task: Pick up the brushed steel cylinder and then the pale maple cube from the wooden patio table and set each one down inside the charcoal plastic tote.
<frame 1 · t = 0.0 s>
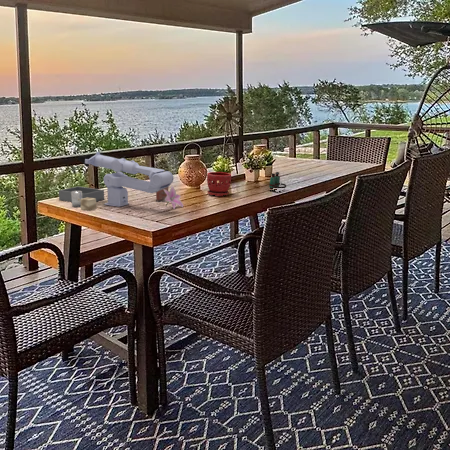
hand: (84, 157, 257), 22 cm above the table, tool horizontal, fingers open, 7 cm apart
maple cube: (88, 209, 243), on the table
lily: (172, 207, 250), on the table
plant pot: (218, 195, 282), on the table
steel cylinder: (77, 205, 249), on the table
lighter: (162, 201, 265), on the table
tote: (81, 199, 263), on the table
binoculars: (277, 191, 295), on the table
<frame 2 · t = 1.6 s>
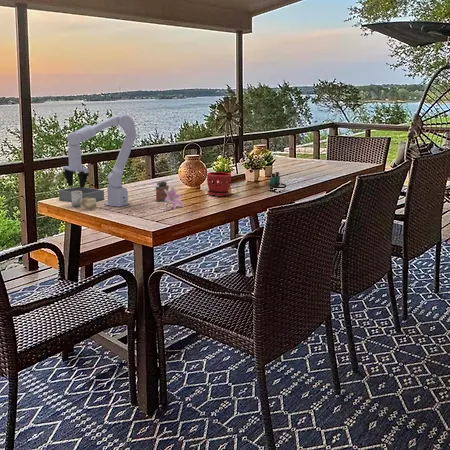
hand: (76, 186, 247), 9 cm above the table, tool pointing down, fingers open, 7 cm apart
nothing on the table moved.
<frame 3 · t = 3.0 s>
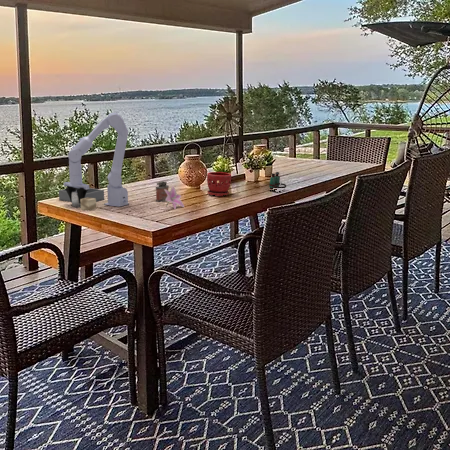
hand: (77, 202, 249), 2 cm above the table, tool pointing down, fingers closed on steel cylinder, 5 cm apart
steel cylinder: (77, 205, 249), on the table, touching gripper
everything else where it was.
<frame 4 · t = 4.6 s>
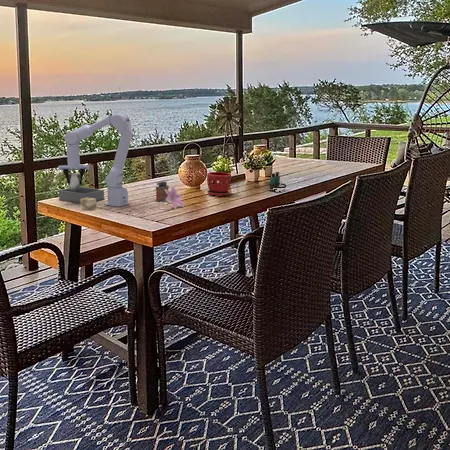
hand: (74, 184, 253), 9 cm above the table, tool pointing down, fingers closed on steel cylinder, 5 cm apart
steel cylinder: (75, 188, 254), point 7 cm above the table, touching gripper
everything else where it was.
when the fingers open (4 cm above the table, at t = 6.7 s): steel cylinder drops 1 cm, resting on tote.
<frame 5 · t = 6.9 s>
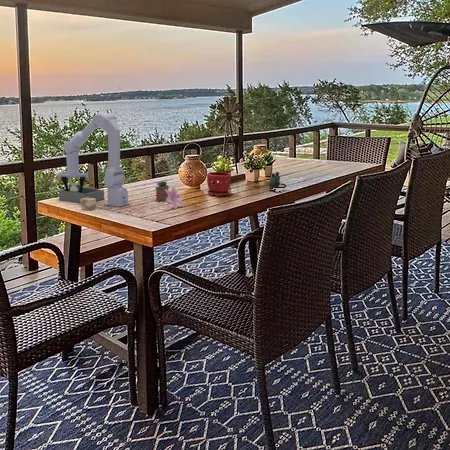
hand: (74, 191, 263), 4 cm above the table, tool pointing down, fingers open, 6 cm apart
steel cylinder: (74, 198, 263), point 1 cm above the table, touching tote
everything else where it was.
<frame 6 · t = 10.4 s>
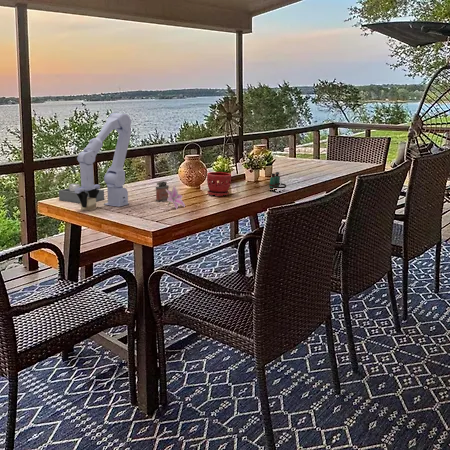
hand: (88, 206, 243), 1 cm above the table, tool pointing down, fingers closed on maple cube, 5 cm apart
maple cube: (88, 208, 243), on the table, touching gripper
everything else where it was.
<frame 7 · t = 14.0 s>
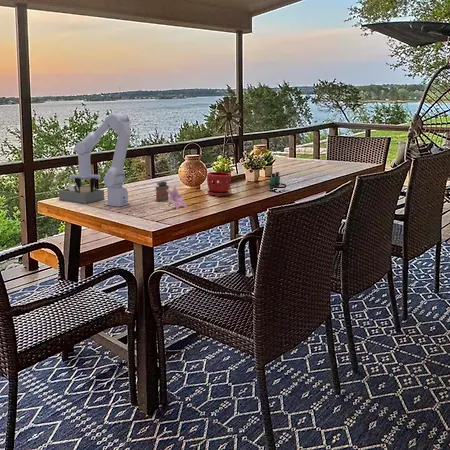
hand: (86, 193, 260), 4 cm above the table, tool pointing down, fingers closed on maple cube, 5 cm apart
maple cube: (86, 196, 260), point 2 cm above the table, touching gripper
when the fingers open (4 cm above the table, at t = 14.2 s): maple cube drops 2 cm, resting on tote.
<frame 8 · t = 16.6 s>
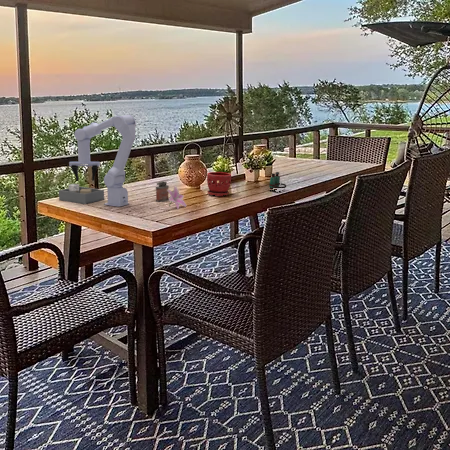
hand: (85, 180, 258), 10 cm above the table, tool pointing down, fingers open, 7 cm apart
maple cube: (86, 199, 260), point 1 cm above the table, touching tote
at the end: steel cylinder inside the target area on the tote (4.0 cm from its centre), point 0.6 cm above the tote's base; maple cube inside the target area on the tote (3.7 cm from its centre), point 0.6 cm above the tote's base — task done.
